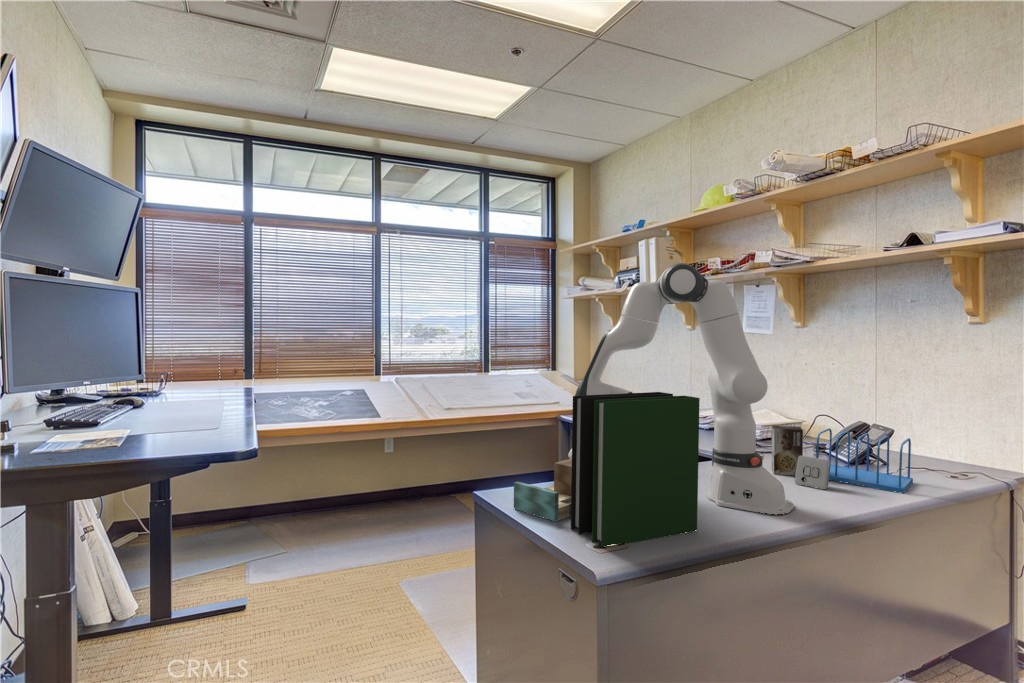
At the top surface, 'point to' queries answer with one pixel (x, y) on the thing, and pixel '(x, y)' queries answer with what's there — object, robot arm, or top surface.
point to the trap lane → (541, 501)
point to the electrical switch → (812, 472)
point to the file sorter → (868, 476)
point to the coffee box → (786, 449)
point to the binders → (634, 466)
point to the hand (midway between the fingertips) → (589, 478)
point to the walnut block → (563, 477)
